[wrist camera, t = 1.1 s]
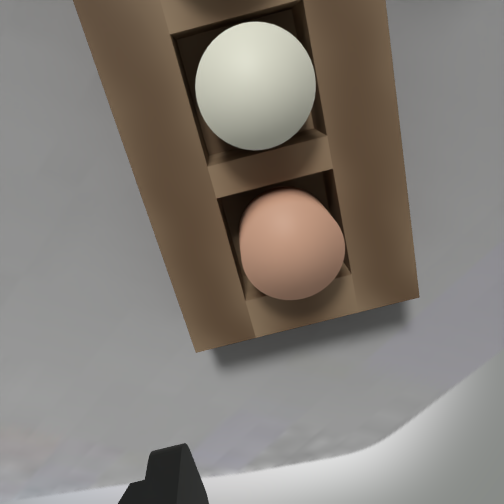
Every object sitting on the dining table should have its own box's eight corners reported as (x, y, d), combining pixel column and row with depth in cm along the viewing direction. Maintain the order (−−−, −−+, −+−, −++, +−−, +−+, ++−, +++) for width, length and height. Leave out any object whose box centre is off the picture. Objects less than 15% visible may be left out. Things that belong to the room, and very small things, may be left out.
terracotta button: (320, 175, 22) (335, 190, 19) (336, 261, 23) (352, 286, 20) (228, 199, 22) (229, 218, 19) (250, 282, 23) (255, 310, 21)
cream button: (290, 16, 19) (302, 7, 16) (311, 125, 21) (325, 133, 18) (185, 45, 19) (179, 39, 16) (214, 150, 21) (213, 162, 18)
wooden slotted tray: (321, -271, 18) (345, -349, 14) (394, 269, 27) (419, 297, 23) (29, -188, 18) (-13, -246, 15) (198, 319, 27) (196, 352, 24)
